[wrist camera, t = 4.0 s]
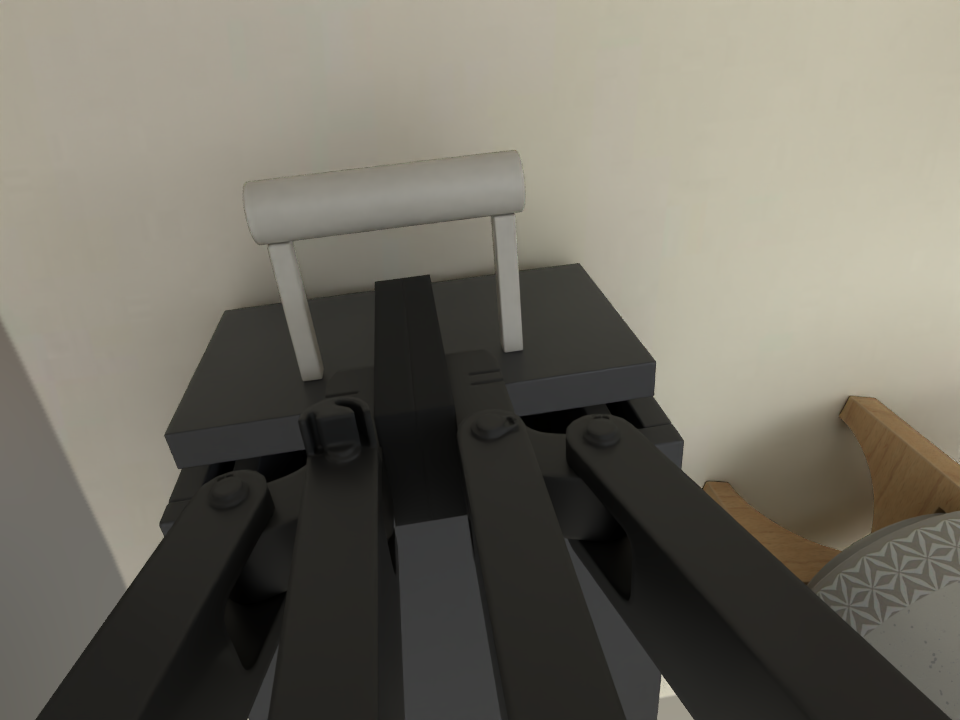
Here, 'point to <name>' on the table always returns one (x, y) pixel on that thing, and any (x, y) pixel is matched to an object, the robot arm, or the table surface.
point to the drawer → (351, 318)
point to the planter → (888, 553)
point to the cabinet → (475, 606)
